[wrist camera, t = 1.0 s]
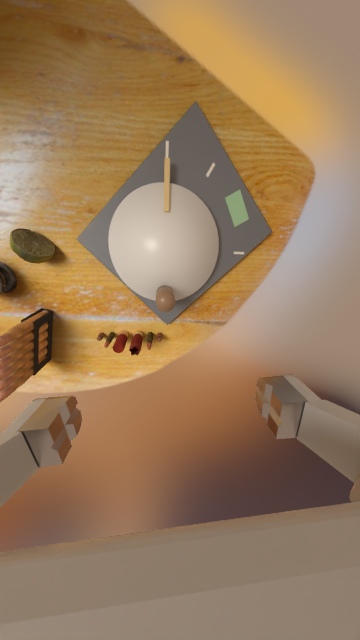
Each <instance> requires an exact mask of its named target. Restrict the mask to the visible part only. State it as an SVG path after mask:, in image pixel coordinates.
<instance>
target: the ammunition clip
mask: <svg viewBox="0 0 360 640" xmlns="http://www.w3.org/2000/svg"><path fill="white" fill-rule="evenodd" d="M52 321H53V311H51V310H47V309H42V308H41V309H40V310H38V311H36V312H35V313H33V314H31V315H30V316H28V317H26V318H24V319H23V320H21V323H20V324H18V325H16V326H14V327H13V328H11V329H10V330H9V331H8V332H6V333H5V334H3V335H2V336H0V347H2V346H3V347H2V348H0V359H1V358H2V359H1V360H0V370H1V371H0V381H1V380H2V381H1V382H0V402H1V401H2V400H4V399H5V398H7V397H8V396H9V395H10V394H11V393H12V392H14V391H15V390H16V389H17V388H18V387H20V386H21V385H23V384H24V383H25V382H26V381H27V380H28V379H29V378H30V377H31V376H32V375H35V374H36V373H37V372H38V371H39V370H40V369H41V368H43V367H44V366H45V365H46V364H47V363H48V362H49V361H50V360H51V346H52ZM3 357H4V358H3Z"/></svg>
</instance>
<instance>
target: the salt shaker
mask: <svg viewBox="0 0 360 640" xmlns="http://www.w3.org/2000/svg"><path fill="white" fill-rule="evenodd" d="M16 285H17V279H16V276H15V274H14V272H13V271H12V270H11V269H10V267H8V266H7V265H6V264H4V263H2V262H0V294H1V293H9V292H11V291H13V290H14V289H15V287H16Z"/></svg>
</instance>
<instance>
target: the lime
mask: <svg viewBox="0 0 360 640" xmlns="http://www.w3.org/2000/svg"><path fill="white" fill-rule="evenodd" d="M10 246H11V248H12V250H13V251H14V252H15V253H17V255H18V256H19V257H21V258H22V259H24V260H26V261H28V262H31V263H43V262H46V261H48V260H49V259H50V258H51V257H52V256H53V255H54V252H55V247H54V245H53V243H52V242H51V241H49V240H48V239H46V238H45V237H43V236H42V235H40V234H38V233H35V232H32V231H31V230H28V229H16V230H14V231H12V232H11V234H10Z"/></svg>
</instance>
